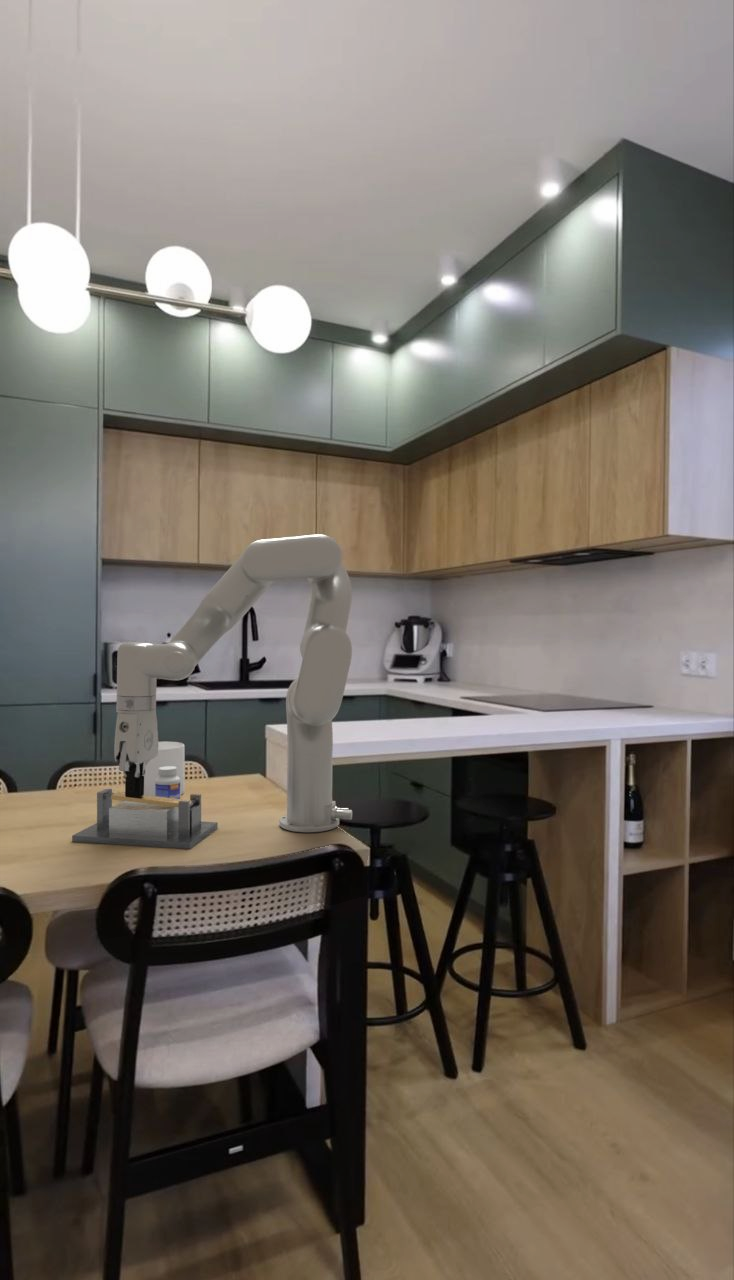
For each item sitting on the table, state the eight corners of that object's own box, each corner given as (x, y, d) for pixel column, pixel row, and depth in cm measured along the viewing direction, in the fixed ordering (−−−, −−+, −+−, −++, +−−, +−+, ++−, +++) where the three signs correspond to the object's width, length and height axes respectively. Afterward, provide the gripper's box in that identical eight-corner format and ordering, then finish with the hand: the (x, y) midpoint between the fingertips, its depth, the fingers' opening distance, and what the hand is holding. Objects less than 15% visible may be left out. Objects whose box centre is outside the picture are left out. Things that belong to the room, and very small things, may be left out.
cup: (145, 787, 184) (145, 741, 184) (190, 788, 183) (190, 741, 183) (128, 799, 172) (128, 749, 172) (176, 799, 172) (176, 749, 171)
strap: (196, 804, 143) (196, 800, 143) (187, 809, 139) (188, 805, 139) (119, 795, 146) (120, 790, 146) (109, 800, 142) (109, 795, 142)
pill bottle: (173, 814, 158) (173, 770, 158) (150, 813, 159) (150, 769, 159) (184, 808, 164) (184, 766, 163) (162, 807, 165) (162, 764, 165)
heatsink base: (217, 828, 148) (217, 787, 148) (190, 849, 134) (190, 804, 134) (109, 822, 152) (109, 782, 152) (72, 841, 138) (72, 798, 138)
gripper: (135, 709, 135) (133, 806, 135) (170, 701, 150) (168, 789, 150) (98, 707, 136) (97, 803, 136) (136, 699, 151) (134, 786, 151)
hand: (134, 795), depth 143 cm, fingers closed
